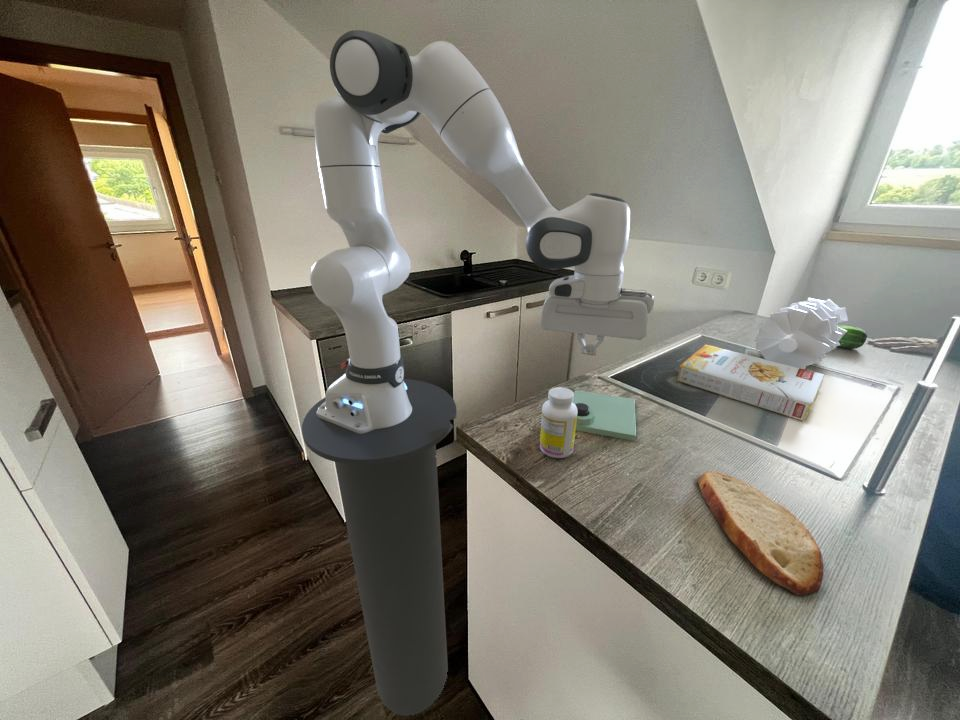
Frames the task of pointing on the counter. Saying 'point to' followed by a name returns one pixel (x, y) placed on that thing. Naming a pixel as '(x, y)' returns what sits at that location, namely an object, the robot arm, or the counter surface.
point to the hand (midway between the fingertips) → (588, 353)
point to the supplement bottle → (558, 423)
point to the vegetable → (852, 337)
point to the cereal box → (752, 380)
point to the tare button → (582, 409)
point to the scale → (607, 415)
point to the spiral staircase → (801, 333)
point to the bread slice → (765, 533)
